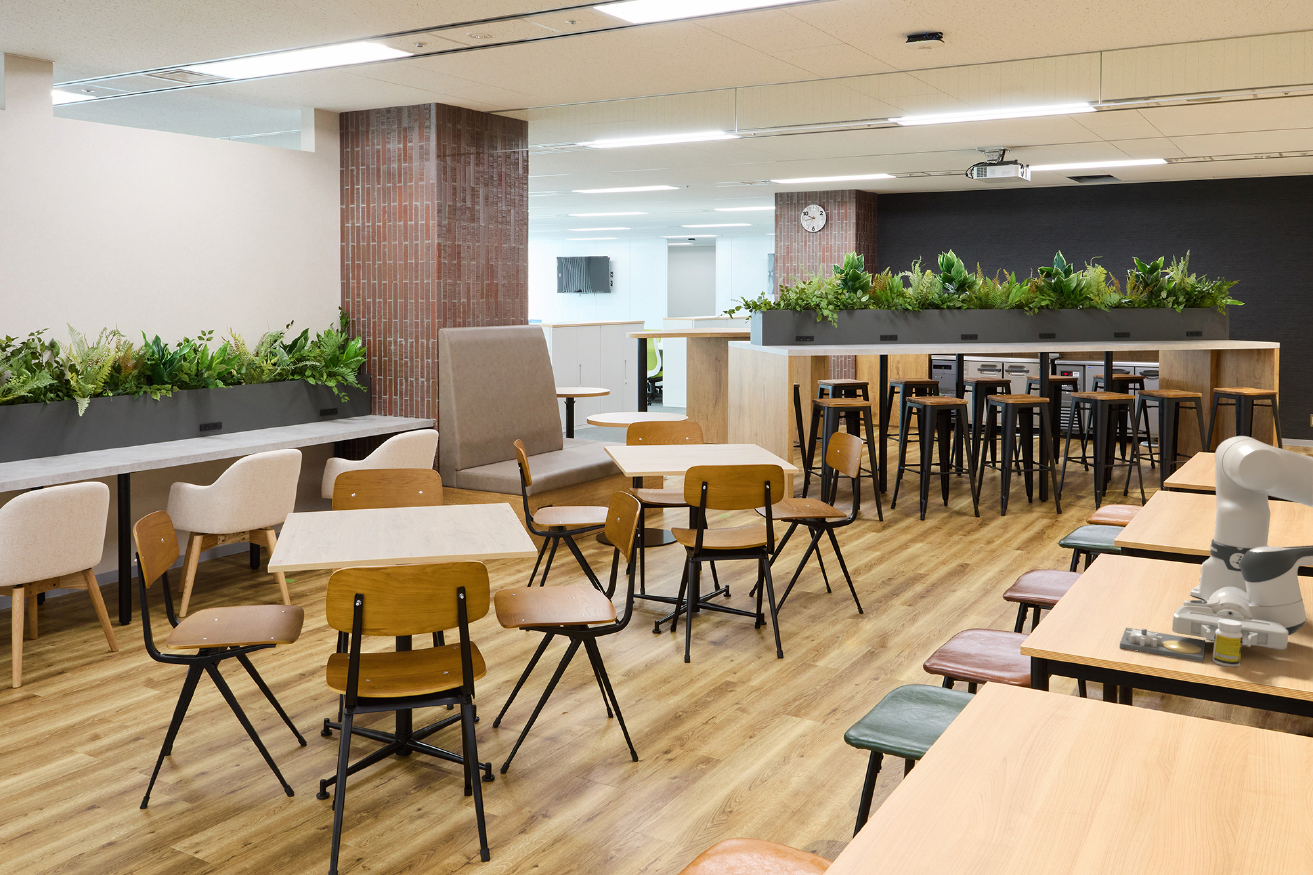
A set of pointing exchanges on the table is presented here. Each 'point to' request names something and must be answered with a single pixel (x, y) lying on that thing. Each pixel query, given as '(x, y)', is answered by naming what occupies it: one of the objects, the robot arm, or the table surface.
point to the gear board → (1163, 644)
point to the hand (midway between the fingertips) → (1228, 639)
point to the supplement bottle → (1228, 643)
